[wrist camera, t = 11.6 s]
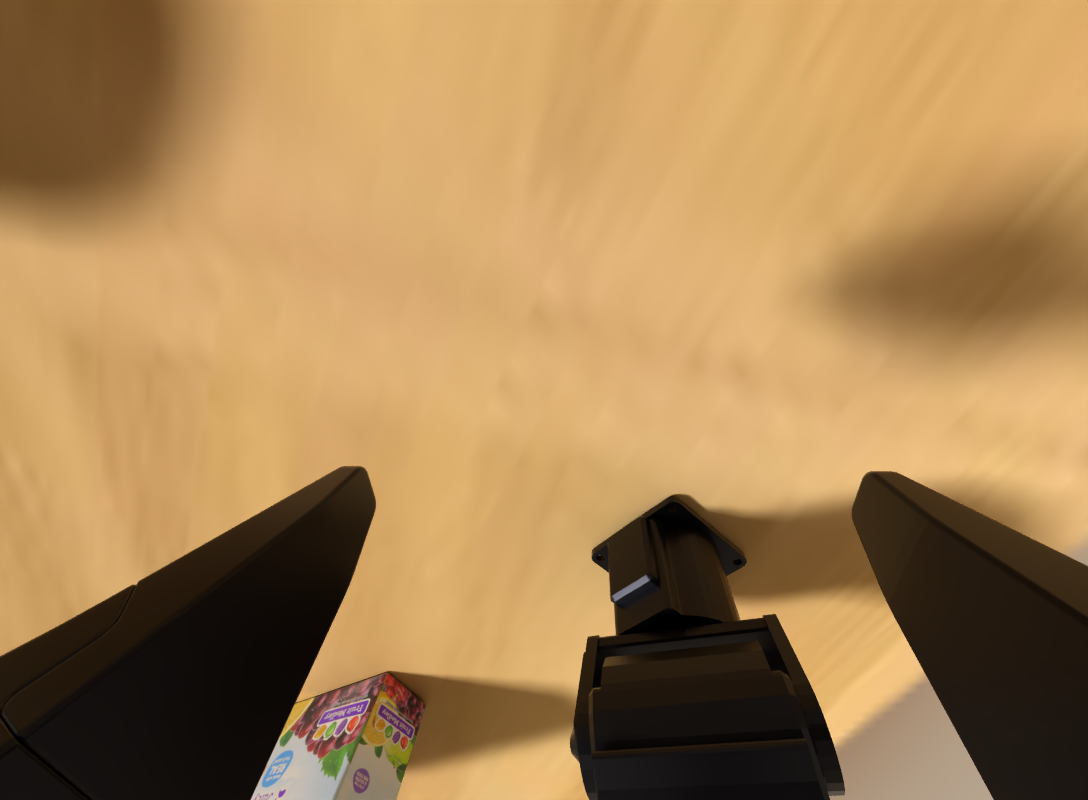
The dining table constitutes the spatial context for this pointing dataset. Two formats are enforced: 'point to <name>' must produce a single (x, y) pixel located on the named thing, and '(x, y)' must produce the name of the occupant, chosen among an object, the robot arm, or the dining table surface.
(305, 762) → the snack box
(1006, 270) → the dining table surface
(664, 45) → the dining table surface
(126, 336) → the dining table surface
